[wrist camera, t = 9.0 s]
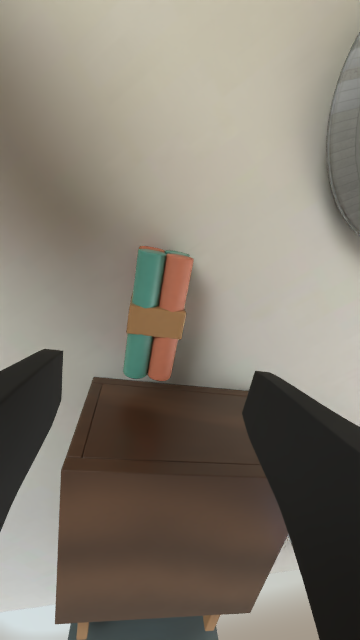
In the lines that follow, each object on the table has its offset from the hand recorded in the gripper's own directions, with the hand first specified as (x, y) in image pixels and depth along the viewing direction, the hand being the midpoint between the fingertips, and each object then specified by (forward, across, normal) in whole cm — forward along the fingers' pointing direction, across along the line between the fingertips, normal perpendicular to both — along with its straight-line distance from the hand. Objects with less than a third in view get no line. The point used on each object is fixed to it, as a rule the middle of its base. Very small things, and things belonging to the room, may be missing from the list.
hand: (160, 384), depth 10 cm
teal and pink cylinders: (+10, 0, 0) cm, 10 cm away
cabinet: (+10, -3, +13) cm, 16 cm away
